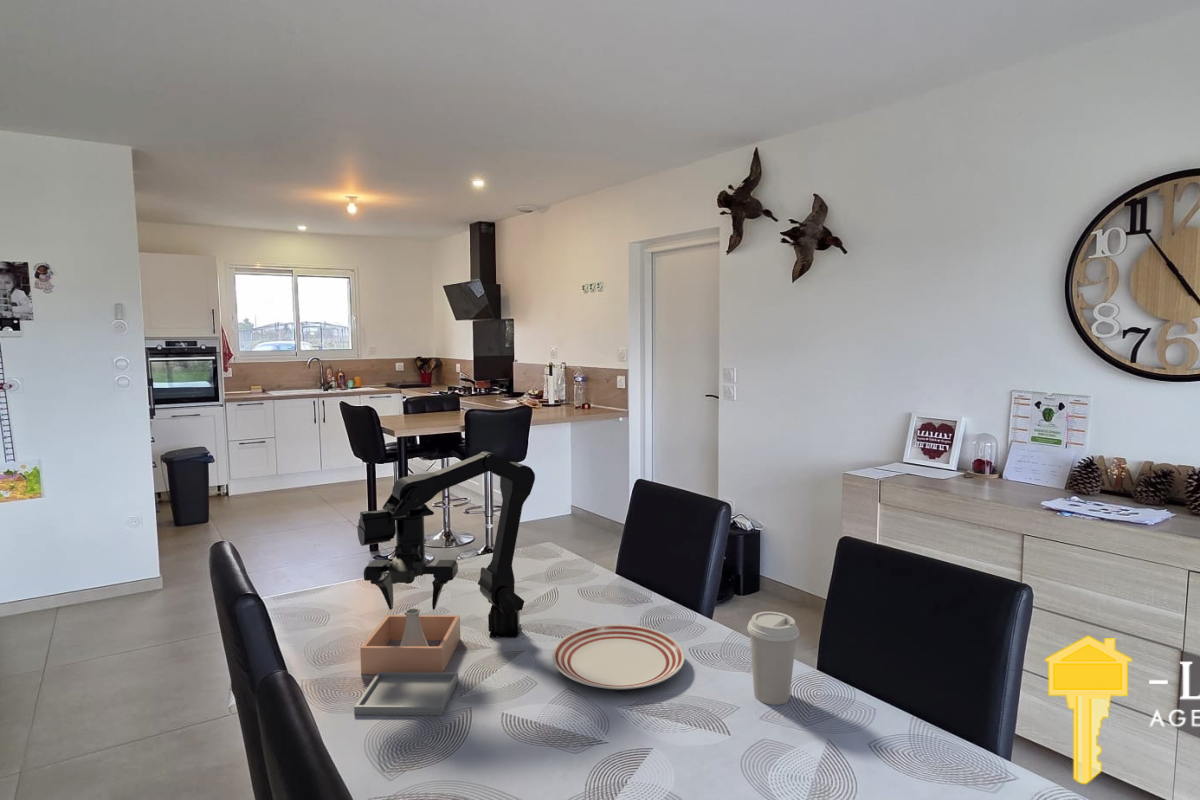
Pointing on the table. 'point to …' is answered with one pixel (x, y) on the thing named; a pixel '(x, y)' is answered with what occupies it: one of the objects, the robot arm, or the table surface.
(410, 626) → the flask
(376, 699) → the grey tray
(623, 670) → the dinner plate
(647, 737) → the table surface
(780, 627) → the coffee cup
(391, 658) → the terracotta box
